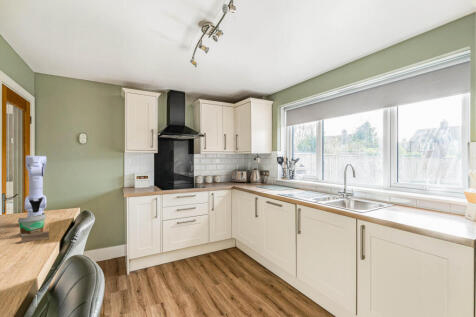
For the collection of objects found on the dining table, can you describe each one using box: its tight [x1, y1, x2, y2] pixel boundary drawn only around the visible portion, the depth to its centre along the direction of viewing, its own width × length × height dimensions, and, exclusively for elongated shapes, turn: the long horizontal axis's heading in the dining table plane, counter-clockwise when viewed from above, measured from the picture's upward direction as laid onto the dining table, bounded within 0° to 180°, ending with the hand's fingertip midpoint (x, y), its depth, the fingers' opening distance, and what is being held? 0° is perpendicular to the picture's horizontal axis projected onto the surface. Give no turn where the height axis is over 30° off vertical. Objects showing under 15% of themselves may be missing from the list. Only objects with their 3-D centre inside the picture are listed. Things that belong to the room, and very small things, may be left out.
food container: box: [17, 212, 47, 237], centre depth 118 cm, size 12×6×10 cm, turn 168°
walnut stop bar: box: [20, 230, 50, 244], centre depth 110 cm, size 3×10×3 cm, turn 132°
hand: (35, 212), depth 125 cm, fingers closed
